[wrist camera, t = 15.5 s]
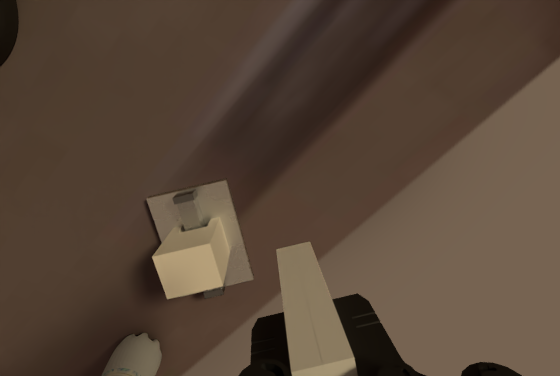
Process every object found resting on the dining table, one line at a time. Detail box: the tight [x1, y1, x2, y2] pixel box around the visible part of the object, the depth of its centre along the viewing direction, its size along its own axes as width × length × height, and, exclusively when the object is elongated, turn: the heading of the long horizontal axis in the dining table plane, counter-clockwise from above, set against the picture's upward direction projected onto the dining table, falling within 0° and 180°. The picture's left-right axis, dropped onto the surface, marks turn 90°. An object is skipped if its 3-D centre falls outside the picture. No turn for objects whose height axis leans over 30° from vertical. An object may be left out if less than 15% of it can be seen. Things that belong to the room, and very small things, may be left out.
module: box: [152, 217, 230, 299], centre depth 36 cm, size 6×5×8 cm
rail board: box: [146, 178, 254, 299], centre depth 39 cm, size 10×14×3 cm
